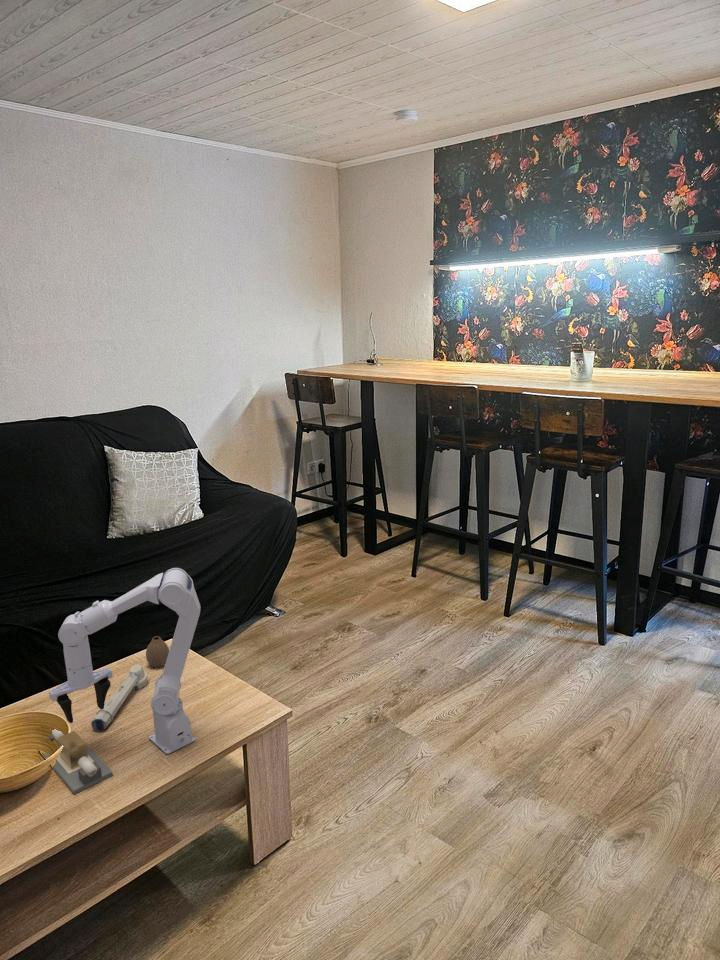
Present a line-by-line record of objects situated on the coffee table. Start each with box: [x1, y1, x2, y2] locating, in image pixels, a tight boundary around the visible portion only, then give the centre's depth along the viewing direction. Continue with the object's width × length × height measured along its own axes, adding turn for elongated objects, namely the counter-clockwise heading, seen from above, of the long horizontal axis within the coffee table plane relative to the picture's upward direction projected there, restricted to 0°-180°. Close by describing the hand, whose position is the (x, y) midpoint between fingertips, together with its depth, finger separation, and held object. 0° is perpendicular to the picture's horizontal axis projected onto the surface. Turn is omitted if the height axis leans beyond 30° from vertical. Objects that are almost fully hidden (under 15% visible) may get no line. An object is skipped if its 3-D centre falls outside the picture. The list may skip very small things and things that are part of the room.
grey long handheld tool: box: [90, 663, 149, 732], centre depth 185 cm, size 5×7×25 cm
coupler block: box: [57, 730, 88, 770], centre depth 160 cm, size 7×4×5 cm, turn 44°
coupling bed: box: [42, 729, 114, 795], centre depth 160 cm, size 22×9×5 cm, turn 44°
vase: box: [145, 636, 170, 669], centre depth 204 cm, size 7×7×9 cm
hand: (85, 714), depth 164 cm, fingers open, 7 cm apart
